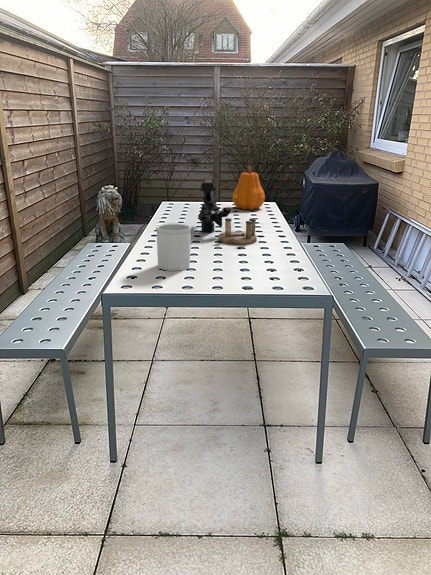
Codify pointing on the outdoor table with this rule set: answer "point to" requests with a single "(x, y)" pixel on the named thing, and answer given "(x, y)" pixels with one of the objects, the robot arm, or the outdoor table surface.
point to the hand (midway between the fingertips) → (221, 226)
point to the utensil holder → (173, 246)
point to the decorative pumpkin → (248, 191)
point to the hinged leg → (228, 228)
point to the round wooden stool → (241, 240)
